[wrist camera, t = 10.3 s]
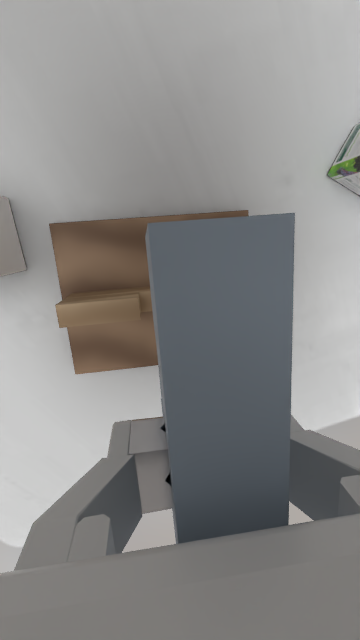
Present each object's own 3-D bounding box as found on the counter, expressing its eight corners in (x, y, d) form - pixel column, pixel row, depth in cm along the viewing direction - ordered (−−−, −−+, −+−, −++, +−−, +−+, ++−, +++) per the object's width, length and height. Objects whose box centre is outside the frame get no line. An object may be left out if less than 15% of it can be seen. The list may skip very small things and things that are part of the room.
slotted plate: (145, 237, 14) (147, 223, 4) (189, 233, 14) (294, 212, 4) (167, 464, 17) (200, 770, 7) (203, 459, 17) (283, 749, 7)
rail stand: (52, 224, 31) (26, 219, 24) (244, 211, 33) (271, 203, 26) (77, 369, 35) (61, 401, 28) (246, 351, 37) (270, 376, 30)
